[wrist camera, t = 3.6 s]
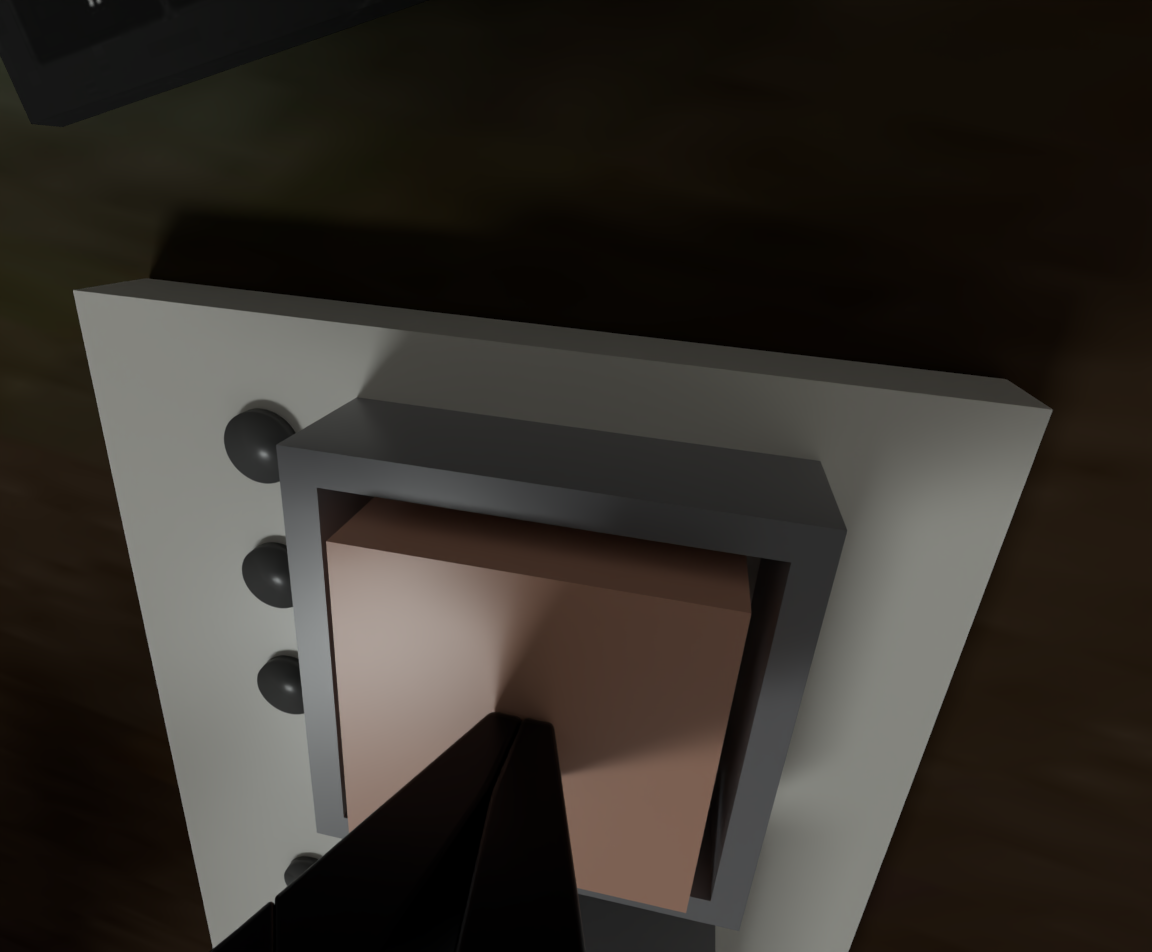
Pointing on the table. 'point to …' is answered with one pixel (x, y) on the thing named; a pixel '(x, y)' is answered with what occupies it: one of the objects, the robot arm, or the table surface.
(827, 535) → the button board
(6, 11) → the calculator
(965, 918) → the table surface
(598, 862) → the three dot button
